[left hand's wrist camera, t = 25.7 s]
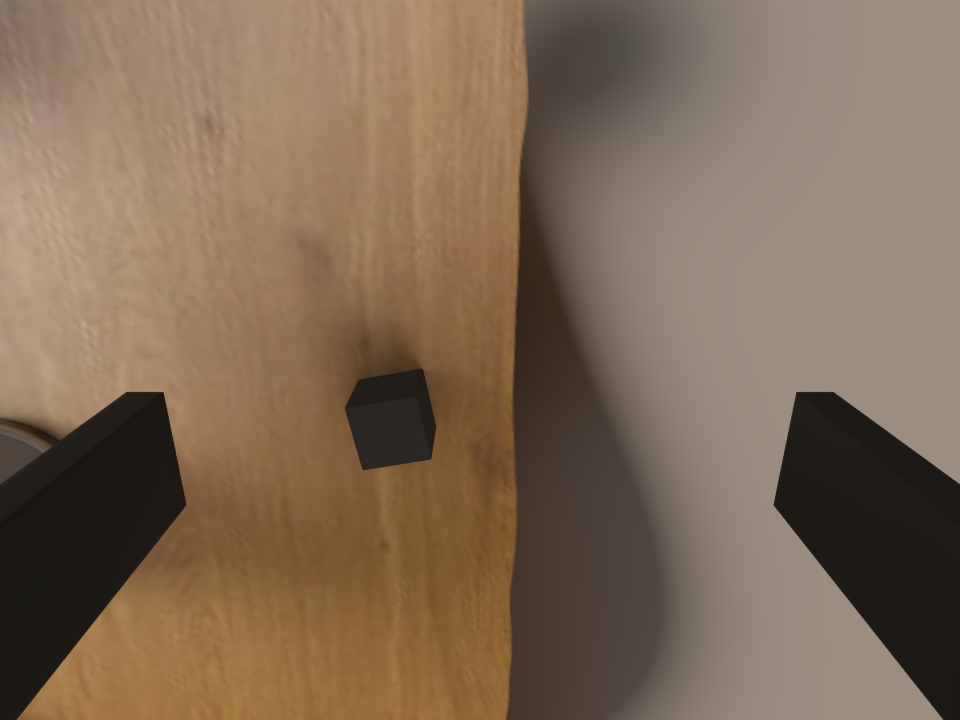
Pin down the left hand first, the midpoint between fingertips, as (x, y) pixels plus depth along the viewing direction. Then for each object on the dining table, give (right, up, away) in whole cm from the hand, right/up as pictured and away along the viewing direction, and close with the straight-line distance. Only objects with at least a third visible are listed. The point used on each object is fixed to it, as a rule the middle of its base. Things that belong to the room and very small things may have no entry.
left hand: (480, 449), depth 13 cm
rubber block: (-6, -1, +33) cm, 34 cm away
